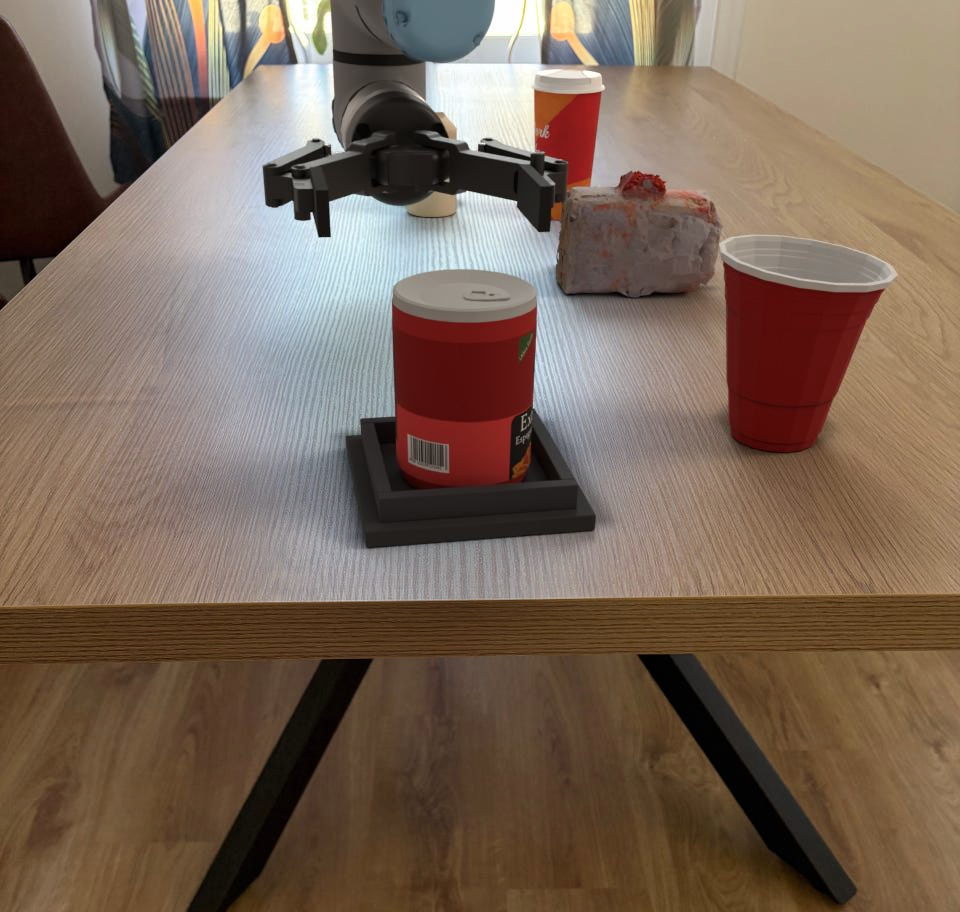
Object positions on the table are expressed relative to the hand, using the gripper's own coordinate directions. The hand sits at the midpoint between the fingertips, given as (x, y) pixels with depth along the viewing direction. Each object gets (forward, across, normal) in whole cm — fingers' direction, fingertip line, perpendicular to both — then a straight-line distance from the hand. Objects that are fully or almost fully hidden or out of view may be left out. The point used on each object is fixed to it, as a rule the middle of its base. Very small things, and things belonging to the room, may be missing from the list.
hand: (436, 211), depth 68 cm
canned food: (+10, 0, -13) cm, 16 cm away
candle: (-58, -8, -14) cm, 60 cm away
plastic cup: (+5, -22, -14) cm, 27 cm away
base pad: (+10, 0, -14) cm, 17 cm away
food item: (-28, -22, -14) cm, 38 cm away
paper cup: (-55, -22, -14) cm, 61 cm away
